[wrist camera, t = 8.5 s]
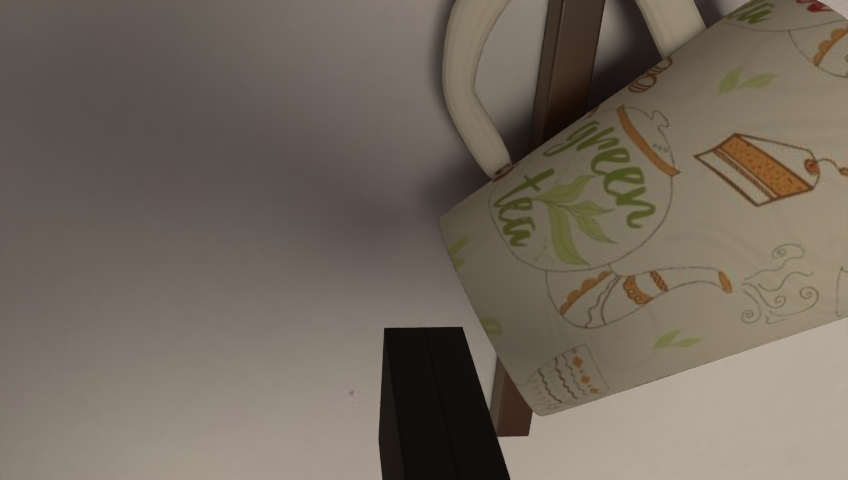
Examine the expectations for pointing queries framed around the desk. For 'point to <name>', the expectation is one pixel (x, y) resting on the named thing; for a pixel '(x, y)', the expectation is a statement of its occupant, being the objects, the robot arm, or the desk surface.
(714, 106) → the mug
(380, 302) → the desk surface
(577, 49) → the strip
